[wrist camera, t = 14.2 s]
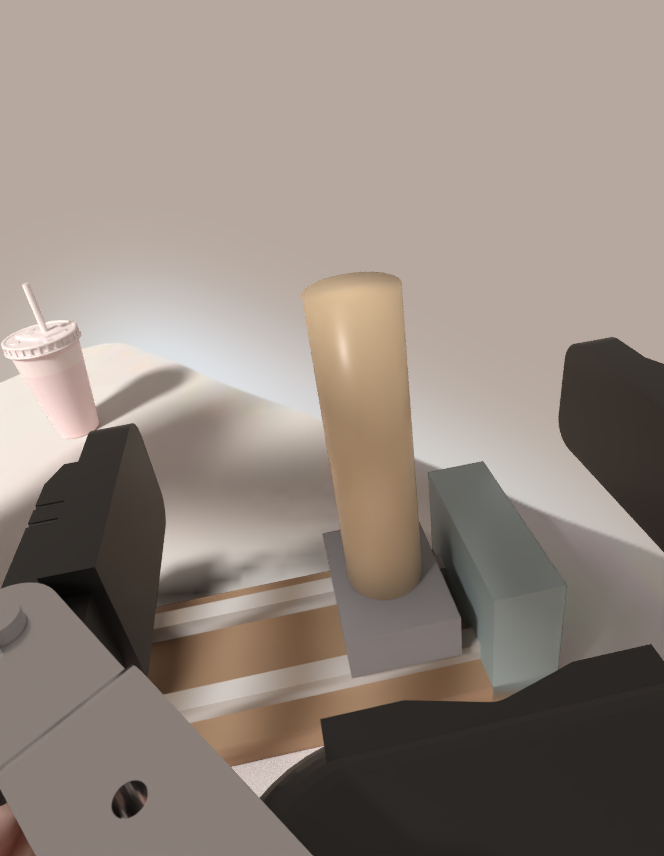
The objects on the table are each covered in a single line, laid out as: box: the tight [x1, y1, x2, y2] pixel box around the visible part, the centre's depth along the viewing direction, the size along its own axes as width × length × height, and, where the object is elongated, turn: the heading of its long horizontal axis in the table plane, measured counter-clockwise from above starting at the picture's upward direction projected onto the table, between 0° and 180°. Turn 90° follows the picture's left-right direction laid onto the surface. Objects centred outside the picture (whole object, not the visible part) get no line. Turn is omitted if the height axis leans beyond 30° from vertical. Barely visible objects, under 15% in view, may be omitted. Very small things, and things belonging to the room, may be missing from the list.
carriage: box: [302, 272, 462, 679], centre depth 25 cm, size 5×7×16 cm
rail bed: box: [148, 549, 529, 767], centre depth 29 cm, size 24×9×2 cm, turn 99°
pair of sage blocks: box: [428, 461, 567, 701], centre depth 28 cm, size 24×9×7 cm, turn 99°
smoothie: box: [1, 283, 99, 439], centre depth 52 cm, size 6×6×14 cm
